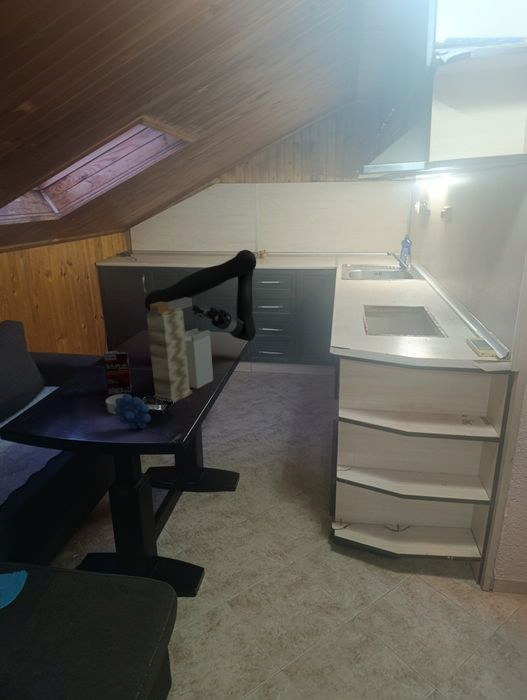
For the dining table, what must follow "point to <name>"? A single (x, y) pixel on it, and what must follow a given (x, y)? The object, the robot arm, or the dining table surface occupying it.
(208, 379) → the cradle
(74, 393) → the dining table surface
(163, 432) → the dining table surface
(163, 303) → the block
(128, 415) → the grapes
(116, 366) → the supplement box
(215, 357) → the dining table surface
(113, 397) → the ramekin
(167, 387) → the stand
